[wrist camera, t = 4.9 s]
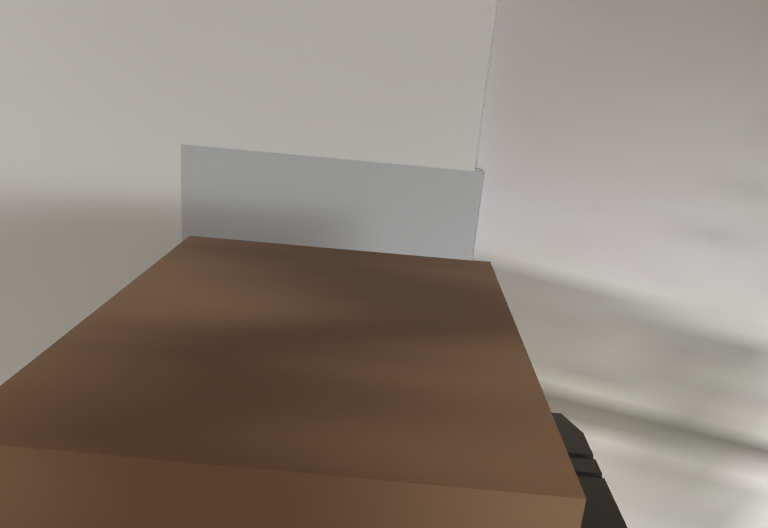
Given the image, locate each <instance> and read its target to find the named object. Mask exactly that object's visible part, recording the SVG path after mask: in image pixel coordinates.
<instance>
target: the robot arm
mask: <svg viewBox="0 0 768 528" xmlns="http://www.w3.org/2000/svg"><path fill="white" fill-rule="evenodd" d="M552 416H553V418H554V421H555V423H556V425H557V428H558V430H559V433H560V435H561V438H562V440H563V443H564V445H565V448H566V450H567V453H568V455H569V457H570V460H571V462H572V465H573V467H574V470H575V472H576V475H577V477H578V480H579V482H580V485H581V487H582V489H583V492H584V494H585V497H586V503H585V508H584V513H583V518H582V522H581V527H580V528H627V526H626V524H625V521H624V519H623V517H622V515H621V513H620V511H619V509H618V507H617V504H616V502H615V500H614V498H613V496H612V494H611V492H610V489H609V487H608V485H607V483H606V481H605V479H604V478H602V472H601V470H600V468H599V466H598V464H597V462H596V460H595V459H593V453H592V451H591V449H590V447H589V445H588V443H587V440H586V438H585V436H584V434H583V433H582V432H581V431H580V430H579V429H578V428H577V427H576V426H575V425H573V424H572V423H571V422H570V421H569V420H568V419H567V418H566V417H564V416H563V415H562V414H561V413H552Z"/></svg>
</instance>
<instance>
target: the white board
mask: <svg viewBox="0 0 768 528" xmlns="http://www.w3.org/2000/svg"><path fill="white" fill-rule="evenodd" d="M496 8H497V0H0V386H1V385H2V384H3V383H4V382H6V381H7V380H8V379H9V378H11V377H12V376H13V375H14V374H16V373H17V372H18V371H19V370H21V369H22V368H23V367H25V366H26V365H27V364H28V363H30V362H31V361H32V360H33V359H35V358H36V357H37V356H38V355H40V354H41V353H42V352H43V351H45V350H46V349H47V348H49V347H50V346H51V345H52V344H54V343H55V342H56V341H57V340H59V339H60V338H61V337H62V336H64V335H65V334H66V333H67V332H69V331H70V330H71V329H73V328H74V327H75V326H76V325H78V324H79V323H80V322H81V321H83V320H84V319H85V318H86V317H88V316H89V315H90V314H91V313H93V312H94V311H95V310H97V309H98V308H99V307H100V306H102V305H103V304H104V303H105V302H107V301H108V300H109V299H110V298H112V297H113V296H114V295H115V294H117V293H118V292H119V291H121V290H122V289H123V288H124V287H126V286H127V285H128V284H129V283H131V282H132V281H133V280H134V279H136V278H137V277H138V276H139V275H141V274H142V273H143V272H145V271H146V270H147V269H148V268H150V267H151V266H152V265H153V264H155V263H156V262H157V261H158V260H160V259H161V258H162V257H163V256H165V255H166V254H167V253H169V252H170V251H171V250H172V249H174V248H175V247H176V246H177V245H179V244H180V243H181V242H182V241H184V240H185V239H186V238H187V237H189V236H199V237H210V238H221V239H233V240H244V241H256V242H267V243H278V244H290V245H301V246H313V247H324V248H335V249H347V250H358V251H370V252H381V253H392V254H404V255H415V256H427V257H438V258H449V259H461V260H472V259H473V251H474V244H475V237H476V229H477V222H478V215H479V208H480V200H481V193H482V186H483V178H484V171H483V170H482V169H475V166H476V159H477V151H478V144H479V136H480V129H481V121H482V114H483V106H484V98H485V91H486V83H487V76H488V68H489V61H490V53H491V46H492V38H493V31H494V23H495V15H496Z"/></svg>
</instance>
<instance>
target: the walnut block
mask: <svg viewBox="0 0 768 528" xmlns="http://www.w3.org/2000/svg"><path fill="white" fill-rule="evenodd" d="M585 503H586V497H585V494H584V492H583V489H582V487H581V485H580V482H579V480H578V477H577V475H576V472H575V470H574V467H573V465H572V462H571V460H570V457H569V455H568V453H567V450H566V448H565V445H564V443H563V440H562V438H561V435H560V433H559V430H558V428H557V425H556V423H555V421H554V418H553V416H552V413H551V411H550V408H549V406H548V403H547V401H546V398H545V396H544V393H543V391H542V389H541V386H540V384H539V381H538V379H537V376H536V374H535V371H534V369H533V366H532V364H531V361H530V359H529V357H528V354H527V352H526V349H525V347H524V344H523V342H522V339H521V337H520V334H519V332H518V329H517V327H516V325H515V322H514V320H513V317H512V315H511V312H510V310H509V307H508V305H507V302H506V300H505V297H504V295H503V293H502V290H501V288H500V285H499V283H498V280H497V278H496V275H495V273H494V270H493V268H492V265H491V263H490V262H484V261H472V260H461V259H449V258H438V257H427V256H415V255H404V254H392V253H381V252H370V251H358V250H347V249H335V248H324V247H313V246H301V245H290V244H278V243H267V242H256V241H244V240H233V239H221V238H210V237H199V236H189V237H187V238H186V239H185V240H184V241H182V242H181V243H180V244H179V245H177V246H176V247H175V248H174V249H172V250H171V251H170V252H169V253H167V254H166V255H165V256H163V257H162V258H161V259H160V260H158V261H157V262H156V263H155V264H153V265H152V266H151V267H150V268H148V269H147V270H146V271H145V272H143V273H142V274H141V275H139V276H138V277H137V278H136V279H134V280H133V281H132V282H131V283H129V284H128V285H127V286H126V287H124V288H123V289H122V290H121V291H119V292H118V293H117V294H115V295H114V296H113V297H112V298H110V299H109V300H108V301H107V302H105V303H104V304H103V305H102V306H100V307H99V308H98V309H97V310H95V311H94V312H93V313H91V314H90V315H89V316H88V317H86V318H85V319H84V320H83V321H81V322H80V323H79V324H78V325H76V326H75V327H74V328H73V329H71V330H70V331H69V332H67V333H66V334H65V335H64V336H62V337H61V338H60V339H59V340H57V341H56V342H55V343H54V344H52V345H51V346H50V347H49V348H47V349H46V350H45V351H43V352H42V353H41V354H40V355H38V356H37V357H36V358H35V359H33V360H32V361H31V362H30V363H28V364H27V365H26V366H25V367H23V368H22V369H21V370H19V371H18V372H17V373H16V374H14V375H13V376H12V377H11V378H9V379H8V380H7V381H6V382H4V383H3V384H2V385H1V386H0V528H580V527H581V522H582V518H583V513H584V508H585Z"/></svg>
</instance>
